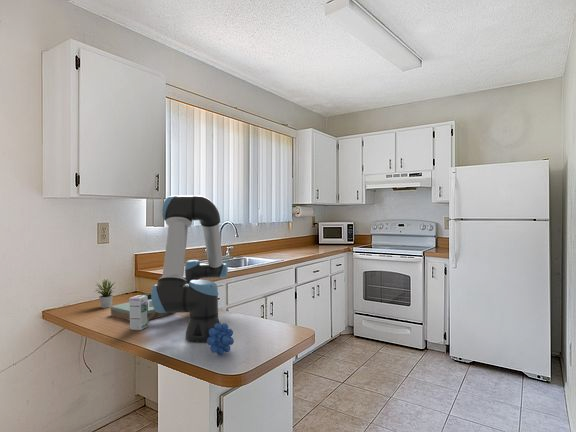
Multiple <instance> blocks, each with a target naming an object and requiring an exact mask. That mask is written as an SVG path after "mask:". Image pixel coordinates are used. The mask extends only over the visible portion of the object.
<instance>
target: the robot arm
mask: <svg viewBox="0 0 576 432" xmlns="http://www.w3.org/2000/svg"><path fill="white" fill-rule="evenodd" d="M161 211H162V212H161V213H162V216H161V217H162V219H163V221H165V224H166V225H167V226H168V229H167V236H166V246H165V254H164V260H163V269H162V276H160V277H159V278H158V279H157V284H156V283H155V284H153V285H152V287H151V292H146V293H142V294H141V295H147V296H148V300H150V299H152V300H151V301H149V307H153V308H154V310H155V311H156V312H158V313H171V314H175V313H177V314H178V313H189V321H188V325H187V328H186V331H185V340H186V341H188V342H192V343H207V339H208V338H209V337H211V336H210V335H209V330H210V329H211V328H214V326H215V324H216V323H220V324H221V321H220V318H219V290H218V284H217V283H216V282H214V281H212V280H206V279H221V278H227V277H228V273H229V272H228V271H229V270H228V269H229V268H228V263H224V260H223V252H222V242H221V233H220V226H219V225H220V223H221V216H220V212H219V210H218V208H217V207H216V205H215V204H214V203H213V202H212V200H210V199H209V198H207V197H205V196H203V195H170V196H168V197H166V198H165V200H164V202H163V204H162V210H161ZM194 221H199V223H200V226H202V229H203V236H204V242H205V243H204V244H205V248H206V249H205V250H206V256H207V263H201V262H200V260H199V259H189V260H187V261H186V252H187V244H188V243H187V241H188V233H189V232H188V231H189V228H190V227H191V226H192V224H193V222H194ZM184 274H185V277H184ZM132 297H133V296H131V297H130V298H132Z"/></svg>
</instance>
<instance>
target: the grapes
mask: <svg viewBox="0 0 576 432" xmlns="http://www.w3.org/2000/svg"><path fill="white" fill-rule="evenodd" d="M209 335H210V336H211V337H209V338H208V339H207V342H206V343H207V345H208V346H210V347H209V349H210V352H211V353H213V354H214V353H215V354H217V355H218V356H223V355H224V354H225V353H229V352H231V351H230V350H231V346H232V345H234V342H235V341H234V337H233V336H234V330H233V329H232V328H229V325H228V323H226V322H224V323H222V324H221V322H220V323H216V324H215V326H214V328H211V329H210V330H209Z"/></svg>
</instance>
